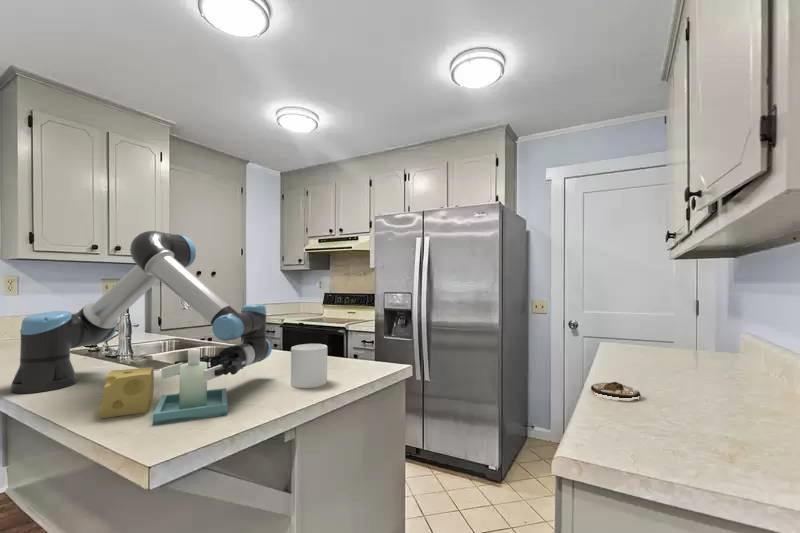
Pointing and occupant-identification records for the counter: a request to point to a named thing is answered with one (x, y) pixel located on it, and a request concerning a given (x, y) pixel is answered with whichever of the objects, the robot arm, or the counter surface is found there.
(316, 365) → the cup
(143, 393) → the cheese
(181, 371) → the bottle
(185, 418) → the teal rectangular tray
